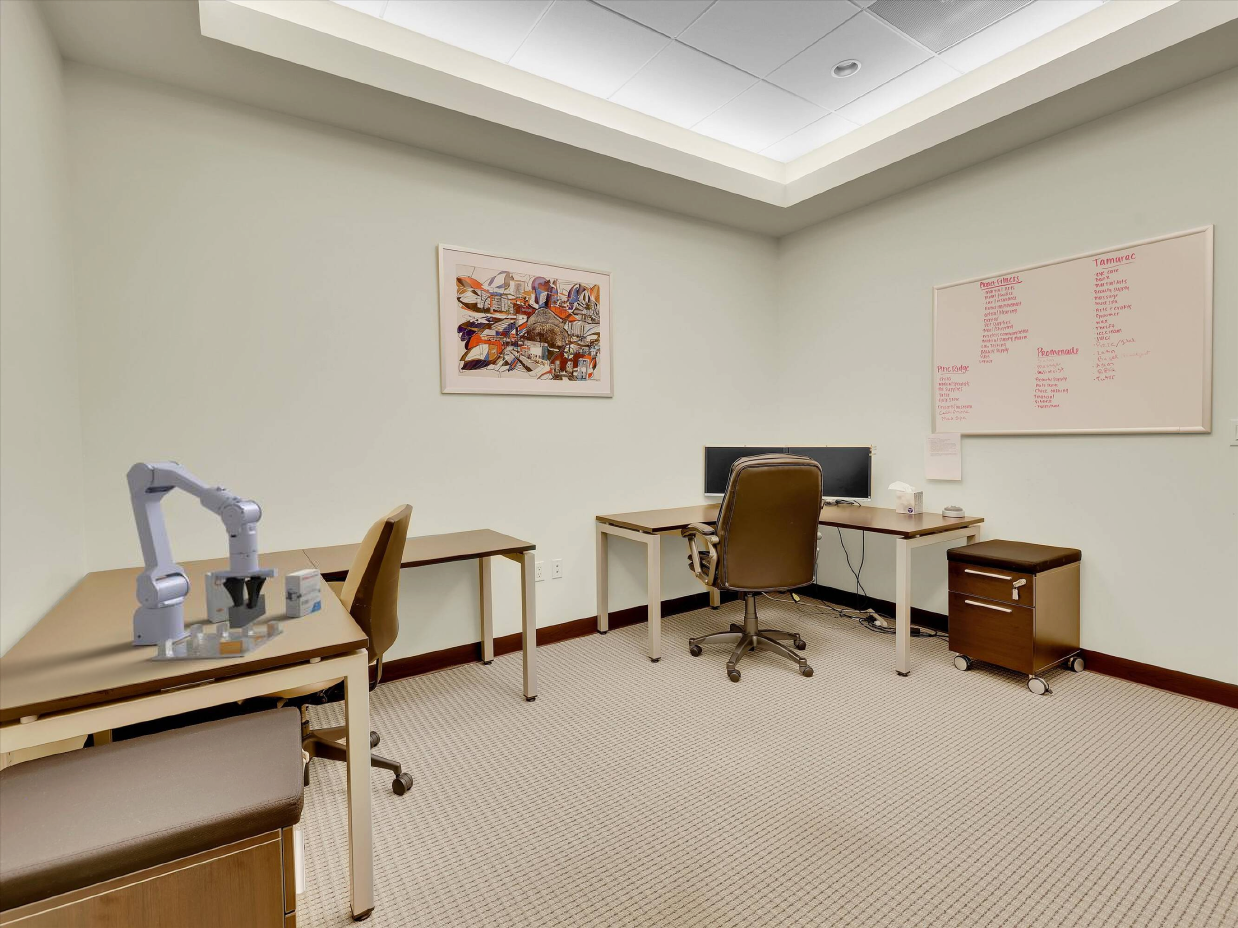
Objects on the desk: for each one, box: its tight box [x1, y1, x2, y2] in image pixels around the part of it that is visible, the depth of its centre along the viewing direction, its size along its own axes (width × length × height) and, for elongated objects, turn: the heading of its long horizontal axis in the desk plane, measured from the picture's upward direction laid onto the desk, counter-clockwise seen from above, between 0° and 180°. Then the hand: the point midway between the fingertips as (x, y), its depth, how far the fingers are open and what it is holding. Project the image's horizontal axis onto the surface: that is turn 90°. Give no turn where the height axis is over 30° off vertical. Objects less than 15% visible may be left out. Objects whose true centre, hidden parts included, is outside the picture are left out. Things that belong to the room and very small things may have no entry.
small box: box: [204, 571, 247, 624], centre depth 163 cm, size 8×6×13 cm
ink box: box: [284, 568, 322, 618], centre depth 167 cm, size 9×5×12 cm, turn 168°
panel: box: [228, 593, 267, 630], centre depth 142 cm, size 2×11×5 cm, turn 4°
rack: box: [151, 620, 284, 662], centre depth 140 cm, size 20×17×4 cm
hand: (246, 608), depth 141 cm, fingers closed on panel, 2 cm apart
